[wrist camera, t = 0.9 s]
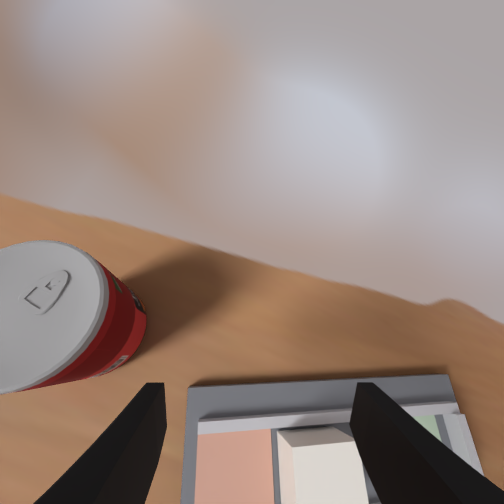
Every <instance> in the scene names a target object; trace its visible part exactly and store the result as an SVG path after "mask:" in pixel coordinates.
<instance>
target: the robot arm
mask: <svg viewBox="0 0 504 504" xmlns="http://www.w3.org/2000/svg"><path fill="white" fill-rule="evenodd" d="M349 425H350V429H351V432H352V435H353V438H354V441H355V444H356V446H357V449H358V452H359V455H360V458H361V460H362V462H363V465H364V467H365V469H366V471H367V474H368V476H369V478H370V480H371V482H372V485H373V487H374V489H375V491H376V493H377V496H378V498H379V500H380V502H381V504H504V491H503V490H501V489H500V488H499V487H497V486H496V485H495V484H493V483H492V482H491V481H489V480H488V479H487V478H486V477H484V476H483V475H482V474H480V473H479V472H478V471H477V470H475V469H474V468H473V467H472V466H470V465H469V464H468V463H467V462H465V461H464V460H463V459H462V458H460V457H459V456H458V455H457V454H455V453H454V452H453V451H452V450H451V449H449V448H448V447H447V446H446V445H444V444H443V443H442V442H441V441H440V440H439V439H437V438H436V437H435V436H434V435H433V434H431V433H430V432H429V431H428V430H427V429H426V428H424V427H423V426H422V425H421V424H420V423H419V422H418V421H416V420H415V419H414V418H413V417H412V416H411V415H410V414H408V413H407V412H406V411H405V410H404V409H403V408H402V407H401V406H399V405H398V404H397V403H396V402H395V401H394V400H393V399H392V398H390V397H389V396H388V395H387V394H386V393H385V392H384V391H382V390H381V389H380V388H379V387H378V386H377V385H375V384H374V383H373V382H357V386H356V391H355V396H354V402H353V407H352V412H351V417H350V422H349ZM166 429H167V419H166V404H165V388H164V383H146V384H145V385H144V386H143V387H142V388H141V390H140V391H139V392H138V393H137V394H136V395H135V397H134V398H133V399H132V400H131V401H130V403H129V404H128V405H127V406H126V407H125V408H124V410H123V411H122V412H121V413H120V414H119V415H118V416H117V418H116V419H115V420H114V421H113V422H112V423H111V424H110V425H109V427H108V428H107V429H106V430H105V431H104V432H103V433H102V434H101V435H100V436H99V438H98V439H97V440H96V441H95V442H94V443H93V444H92V445H91V446H90V447H89V448H88V449H87V451H86V452H85V453H84V454H83V455H82V456H81V457H80V458H79V459H78V460H77V461H76V462H75V463H74V464H73V465H72V466H71V467H70V468H69V469H68V470H67V471H66V472H65V473H64V474H63V475H62V476H61V477H60V478H59V479H58V480H57V481H56V482H55V483H54V484H53V485H52V486H51V487H50V488H49V489H48V490H47V491H46V492H45V493H44V494H43V495H42V496H41V497H40V498H39V499H38V500H37V501H36V502H35V503H33V504H145V501H146V498H147V495H148V492H149V489H150V486H151V483H152V480H153V477H154V474H155V471H156V468H157V465H158V462H159V458H160V454H161V450H162V446H163V441H164V437H165V433H166Z"/></svg>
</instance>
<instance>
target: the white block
mask: <svg viewBox="0 0 504 504" xmlns="http://www.w3.org/2000/svg"><path fill="white" fill-rule="evenodd" d="M277 442H278V459H279V477H280V494H281V504H369V502H368V496H367V490H366V484H365V478H364V472H363V466H362V460H361V458H360V455H359V452H358V449H357V446H356V444H355V441H354V438H352V437H351V436H349V435H347V434H345V433H343V432H342V431H340V430H338V429H336V428H334V427H333V426H330V427H319V428H307V429H295V430H284V431H277Z"/></svg>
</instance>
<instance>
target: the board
mask: <svg viewBox="0 0 504 504" xmlns="http://www.w3.org/2000/svg"><path fill="white" fill-rule="evenodd" d="M357 382H373V383H374V384H375V385H377V386H378V387H379V388H380V389H381V390H382V391H384V392H385V393H386V394H387V395H388V396H389V397H390V398H392V399H393V400H394V401H395V402H396V403H397V404H398V405H399V406H401V407H402V408H403V409H404V410H405V411H406V412H407V413H408V414H410V415H411V416H412V417H413V418H414V419H415V420H416V421H418V422H419V423H420V424H421V425H422V426H423V427H424V428H426V429H427V430H428V431H429V432H430V433H431V434H433V435H434V436H435V437H436V438H437V439H439V440H440V441H441V442H442V443H443V444H444V445H446V446H447V447H448V448H449V449H451V450H452V451H453V452H454V453H455V454H457V455H458V456H459V457H460V458H462V459H463V460H464V461H465V462H467V463H468V464H469V465H470V466H472V467H473V468H474V469H475V470H477V471H478V472H479V473H480V474H482V475H483V476H484V474H483V471H482V468H481V465H480V461H479V458H478V455H477V452H476V449H475V446H474V442H473V439H472V436H471V433H470V430H469V427H468V424H467V420H466V417H465V414H461V413H460V411H459V407H458V404H457V402H456V398H455V395H454V392H453V389H452V386H451V382H450V379H449V376H448V374H422V375H402V376H383V377H363V378H343V379H324V380H304V381H285V382H265V383H245V384H226V385H206V386H189V387H188V397H187V412H186V428H185V443H184V458H183V473H182V488H181V503H180V504H281V494H280V477H279V459H278V442H277V431H284V430H295V429H307V428H319V427H330V426H333V427H334V428H336V429H338V430H340V431H342V432H343V433H345V434H347V435H349V436H351V437H352V438H353V435H352V432H351V429H350V425H349V422H350V417H351V412H352V407H353V402H354V396H355V391H356V386H357ZM362 466H363V472H364V478H365V484H366V490H367V496H368V502H369V504H381V502H380V500H379V498H378V496H377V493H376V491H375V489H374V487H373V485H372V482H371V480H370V478H369V476H368V474H367V471H366V469H365V467H364V465H363V462H362Z"/></svg>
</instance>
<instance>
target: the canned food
mask: <svg viewBox="0 0 504 504" xmlns="http://www.w3.org/2000/svg"><path fill="white" fill-rule="evenodd" d="M145 329H146V312H145V308H144V306H143V303H142V301H141V300H140V299H139V297H138V296H137V295H136V294H135V293H133V292H132V291H131V290H130V289H129V288H128V287H127V286H126V285H124V284H123V283H122V282H121V281H120V280H119V279H118V278H117V277H115V276H114V275H113V274H112V273H111V272H110V271H109V270H107V269H106V268H105V267H104V266H103V265H102V264H101V263H99V262H98V261H97V260H96V259H94V258H93V257H92V256H91V255H89V254H88V253H86V252H84V251H83V250H81V249H79V248H77V247H75V246H73V245H71V244H67V243H63V242H60V241H49V240H39V241H28V242H24V243H19V244H15V245H11V246H9V247H6V248H3V249H0V394H6V393H12V392H20V391H25V390H30V389H36V388H41V387H46V386H51V385H56V384H61V383H66V382H71V381H76V380H82V379H87V378H92V377H97V376H101V375H104V374H106V373H109V372H111V371H113V370H115V369H116V368H118V367H120V366H121V365H122V364H123V363H124V362H126V361H127V360H128V359H129V358H130V357H131V356H132V355H133V353H134V352H135V351H136V349H137V348H138V346H139V345H140V343H141V341H142V338H143V336H144V333H145Z"/></svg>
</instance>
